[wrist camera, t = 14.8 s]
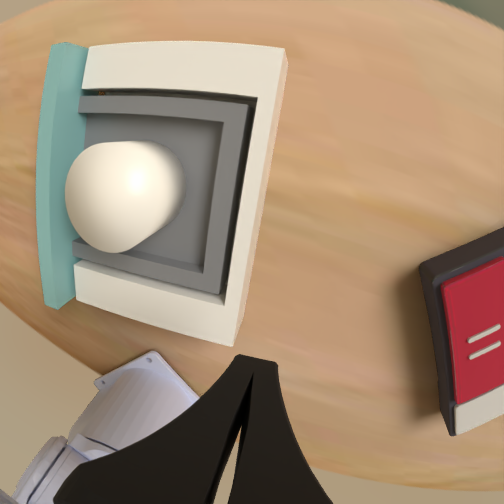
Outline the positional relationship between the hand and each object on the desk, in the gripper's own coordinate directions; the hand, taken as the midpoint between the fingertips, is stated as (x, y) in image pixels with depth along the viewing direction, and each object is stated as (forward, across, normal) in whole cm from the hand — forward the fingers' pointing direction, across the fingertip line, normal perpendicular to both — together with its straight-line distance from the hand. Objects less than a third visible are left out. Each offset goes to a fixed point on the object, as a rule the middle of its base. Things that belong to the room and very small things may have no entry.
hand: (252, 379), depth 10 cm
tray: (+9, +9, -4) cm, 13 cm away
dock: (+10, +8, -4) cm, 14 cm away
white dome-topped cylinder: (+8, +8, -4) cm, 12 cm away
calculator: (+11, -17, +1) cm, 20 cm away
